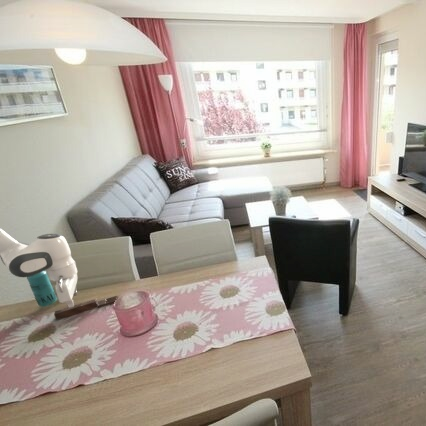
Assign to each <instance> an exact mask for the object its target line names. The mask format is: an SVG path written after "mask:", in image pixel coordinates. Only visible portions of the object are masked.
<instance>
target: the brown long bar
mask: <svg viewBox="0 0 426 426" xmlns="http://www.w3.org/2000/svg"><path fill="white" fill-rule="evenodd" d="M116 299H117V300H118V296H117V295H114V296H111V297H107V298H105V299H101V300H97V298H95V299H92V300H88V301H85V302H82V303H79V304H74V307H70V308H69V307H68V306H67V307H65V308H62V309H61V308H60V309H58V310H55V311H54V314H53V315H54V317H55V320H56V321H57V320H60V319H63V318H64V319H65V318H67V317H70V316H73V315H77V314H79V313H84V312H87V311H90V310H93V309H96V308H97V309H99V308H101V307H102V308H103V307H105V306H109V305H113V304H115V303H114V302H115V300H116Z"/></svg>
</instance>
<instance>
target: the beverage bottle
mask: <svg viewBox="0 0 426 426" xmlns="http://www.w3.org/2000/svg"><path fill="white" fill-rule="evenodd" d="M26 280H27V282H28V284H29V287H30V290H31V291H32V294H33V296H34V299H35V301H36V304H37V306H39V307H41V308H42V307H47V306H51V305H53V304H54V303H56V302H57V300H58V296H57V293H56V291H55V289H54V287H53V285H52V283H51V280H50V279H49V276H48V274H47V271H46V270H44V271H42V272H40V273H38V274H36V275H33V276H30V277H26Z"/></svg>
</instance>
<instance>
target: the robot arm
mask: <svg viewBox="0 0 426 426" xmlns="http://www.w3.org/2000/svg"><path fill="white" fill-rule="evenodd" d="M0 260H1V262H2V264H3V265H4V266H5V267H6V268H7V269H8V271H9V272H10V274H12V275H13V276H15V277H18V278H27V277H30V276H33V275H36V274H38V273H40V272H42V271H46V273H47V276H48V278H49V280H50V282H55V286H54V288H55V289H54V290H55V293H56V297H57V300H58V302H59V303H60V304H66V305H67V308H68V307H69V308H70V307H74V305H75V302H74V300H73V297H76V296H77V295H78V291H77V282H78V268H77V263H76V261H75V260H74V258H73V257H72V250H71V248H70V245H69V243H68V241H67V239H66V238H65V237H64V236H63V235H61V234H59V233H46V234H42V235H38V236H37V237H36V238H35V240H33V241H32V242H30V244H29V243H26V242H22V241H20V240H16V239H15V238H13V237H12V236H11V235H9V234H8V233H7V232H6V231H4V229H2V228H0Z"/></svg>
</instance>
